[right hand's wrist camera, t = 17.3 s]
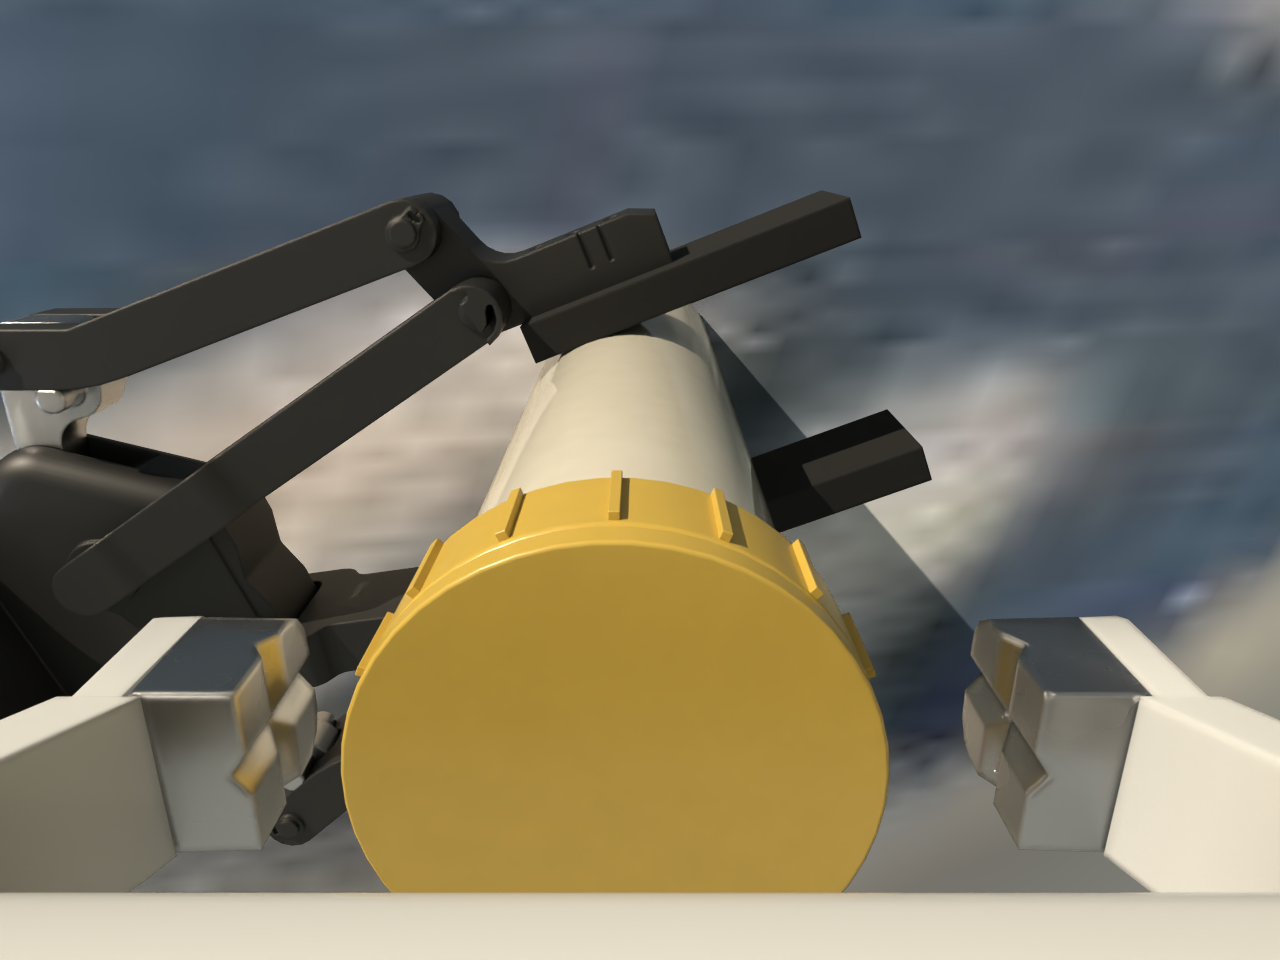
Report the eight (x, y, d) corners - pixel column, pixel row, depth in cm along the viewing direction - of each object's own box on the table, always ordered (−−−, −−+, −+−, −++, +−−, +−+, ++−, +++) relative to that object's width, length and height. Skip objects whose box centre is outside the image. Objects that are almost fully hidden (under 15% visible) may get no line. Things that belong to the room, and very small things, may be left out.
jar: (568, 438, 26) (443, 936, 10) (544, 288, 24) (349, 578, 8) (717, 421, 26) (846, 897, 9) (702, 268, 24) (826, 524, 8)
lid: (879, 840, 10) (918, 956, 9) (453, 905, 11) (423, 1025, 9) (825, 426, 9) (862, 484, 7) (317, 521, 9) (255, 596, 8)
